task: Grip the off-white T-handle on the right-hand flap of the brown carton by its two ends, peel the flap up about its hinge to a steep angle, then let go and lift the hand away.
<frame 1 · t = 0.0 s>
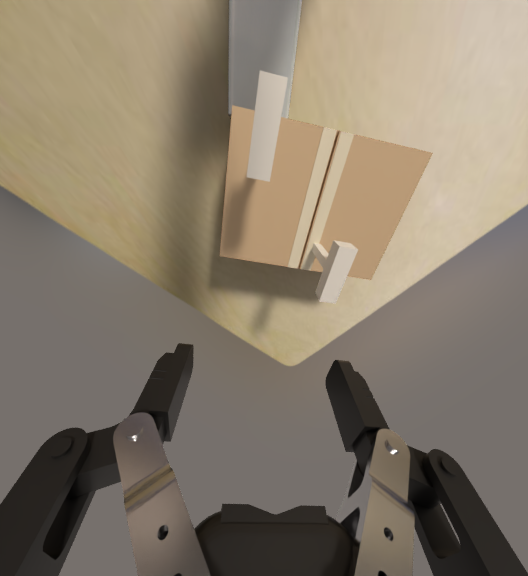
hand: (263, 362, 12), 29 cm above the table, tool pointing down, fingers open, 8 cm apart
hard drive: (261, 59, 27), on the table
right flap: (373, 226, 23), point 15 cm above the table, hinge at 0.0°
carton: (300, 197, 35), on the table
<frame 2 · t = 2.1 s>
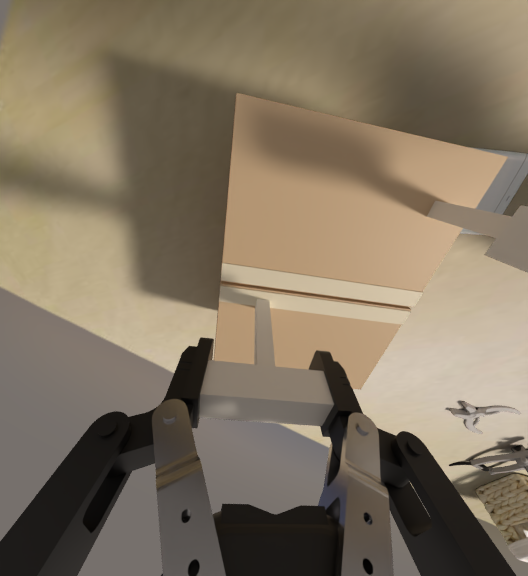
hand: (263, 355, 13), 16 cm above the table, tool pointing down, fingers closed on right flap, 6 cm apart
bike brake: (494, 455, 58), on the table
hard drive: (446, 191, 24), on the table
pliers: (475, 411, 47), on the table
right flap: (312, 384, 16), point 15 cm above the table, hinge at 0.0°, touching gripper
carton: (298, 248, 26), on the table
storage basket: (513, 484, 68), on the table
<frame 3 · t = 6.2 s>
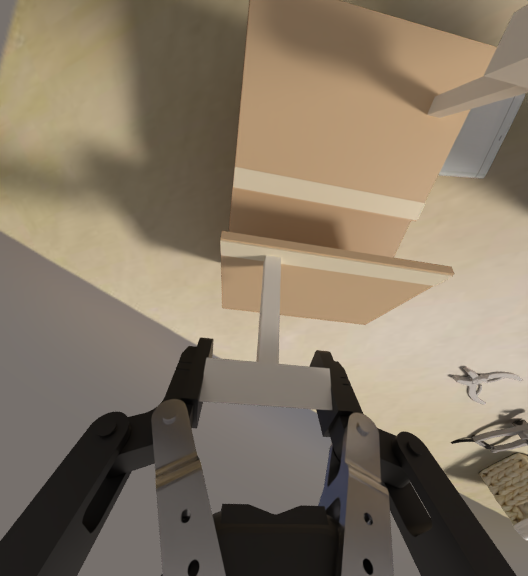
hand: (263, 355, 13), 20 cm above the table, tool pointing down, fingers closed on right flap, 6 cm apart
bike brake: (496, 431, 58), on the table
hard drive: (441, 135, 25), on the table
pliers: (478, 379, 47), on the table
right flap: (317, 340, 16), point 17 cm above the table, hinge at 32.9°, touching gripper
carton: (302, 194, 27), on the table
storage basket: (516, 466, 68), on the table
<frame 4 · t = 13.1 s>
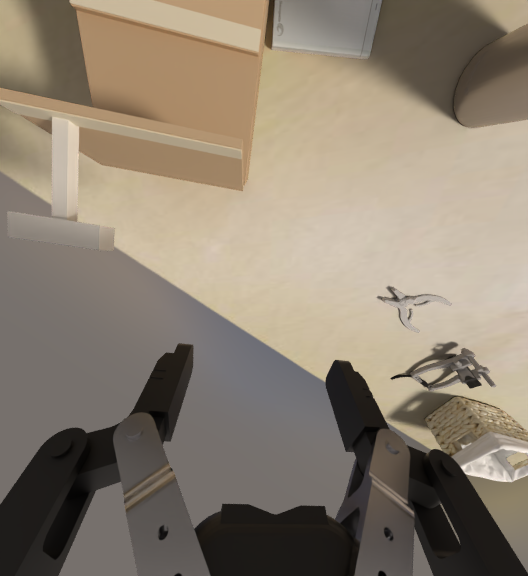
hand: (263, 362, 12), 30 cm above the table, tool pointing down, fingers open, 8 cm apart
bike brake: (433, 369, 60), on the table
hard drive: (324, 10, 26), on the table
pliers: (409, 304, 49), on the table
right flap: (152, 204, 20), point 17 cm above the table, hinge at 68.9°
carton: (198, 75, 28), on the table
storage basket: (461, 412, 71), on the table
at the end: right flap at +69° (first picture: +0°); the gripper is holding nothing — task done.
